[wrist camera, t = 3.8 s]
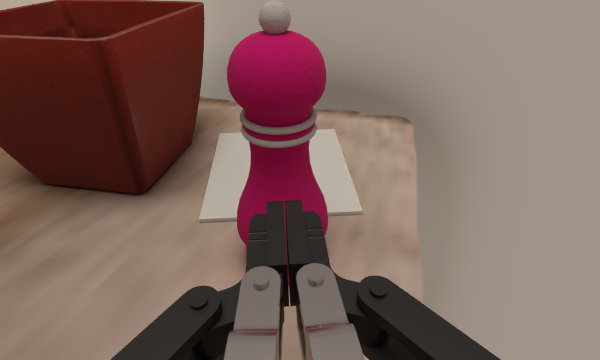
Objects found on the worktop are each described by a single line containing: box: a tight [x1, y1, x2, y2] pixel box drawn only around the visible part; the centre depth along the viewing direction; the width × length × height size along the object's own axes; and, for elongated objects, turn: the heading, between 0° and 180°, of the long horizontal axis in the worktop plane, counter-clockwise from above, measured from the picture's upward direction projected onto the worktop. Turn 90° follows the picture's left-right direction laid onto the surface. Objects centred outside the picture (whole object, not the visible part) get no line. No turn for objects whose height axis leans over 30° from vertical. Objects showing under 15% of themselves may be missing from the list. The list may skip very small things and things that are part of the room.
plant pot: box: [0, 0, 204, 193], centre depth 39 cm, size 19×19×17 cm
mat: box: [199, 129, 363, 222], centre depth 42 cm, size 18×16×1 cm
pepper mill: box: [227, 1, 328, 284], centre depth 25 cm, size 7×7×20 cm
